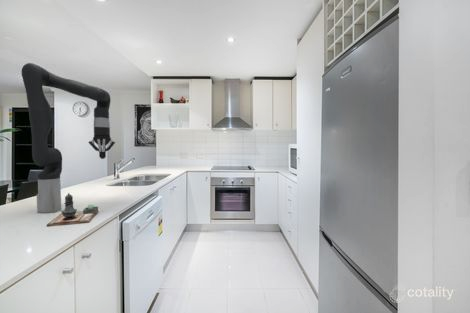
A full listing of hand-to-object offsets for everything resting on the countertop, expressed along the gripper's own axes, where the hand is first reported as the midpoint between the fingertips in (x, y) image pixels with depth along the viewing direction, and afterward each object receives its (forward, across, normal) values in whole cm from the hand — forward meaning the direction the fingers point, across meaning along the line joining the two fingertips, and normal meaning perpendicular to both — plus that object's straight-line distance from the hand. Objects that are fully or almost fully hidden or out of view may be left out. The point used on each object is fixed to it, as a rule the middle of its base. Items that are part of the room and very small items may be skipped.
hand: (102, 158), depth 126 cm
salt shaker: (+26, +10, +19) cm, 34 cm away
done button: (+26, +4, +10) cm, 28 cm away
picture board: (+28, +9, +15) cm, 33 cm away
